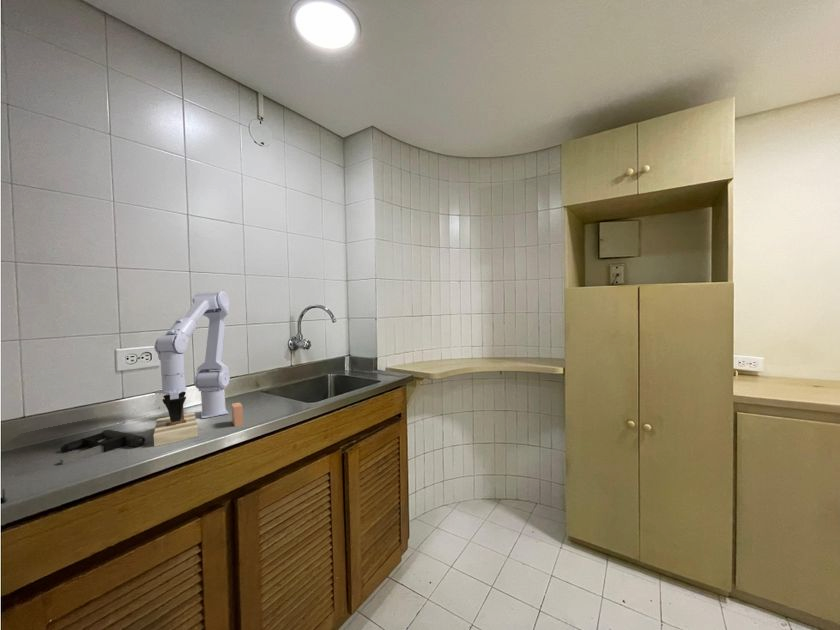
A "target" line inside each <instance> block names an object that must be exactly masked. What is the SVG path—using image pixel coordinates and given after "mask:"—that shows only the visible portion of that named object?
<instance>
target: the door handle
mask: <svg viewBox="0 0 840 630" xmlns="http://www.w3.org/2000/svg"><path fill="white" fill-rule="evenodd" d="M146 439H148V437H146V438H145V437H144V436H143V435H138V434H135V433H134V434H133V433H128V432H125V431H120V430H113V429H104V430H102V431H101V432H99V433H97V434H92V435H90V436H87V437H83V438H80V439H78V440H77V439H76V440H73V441H70V442H67V443H64V444H63V445H62V446H61V447H60V451H61V452H62V453H69V452H68V451H70V452H73V451H77V450H79V448H80V449H82V447H83V448H87V449H84V450H82V451H79V452H76V453H73V454H70V455H66V456H64V457H61V458H59V460H60V461H59V462H60V465H66V464H69V463H72V462H75V461H79V460H83V459H86V458H89V457H92V456H96V455H98V454H101V453H106V452H110V451H113V450H116V449H119V448H124V447H126V446H130V447H132V448H139V447H143V446H144V445H145V443H146ZM76 449H77V450H76ZM72 450H73V451H72Z"/></svg>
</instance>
